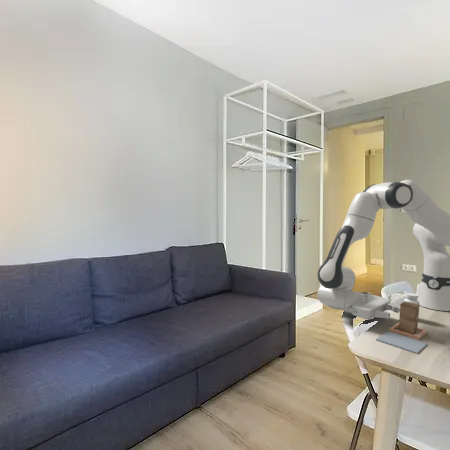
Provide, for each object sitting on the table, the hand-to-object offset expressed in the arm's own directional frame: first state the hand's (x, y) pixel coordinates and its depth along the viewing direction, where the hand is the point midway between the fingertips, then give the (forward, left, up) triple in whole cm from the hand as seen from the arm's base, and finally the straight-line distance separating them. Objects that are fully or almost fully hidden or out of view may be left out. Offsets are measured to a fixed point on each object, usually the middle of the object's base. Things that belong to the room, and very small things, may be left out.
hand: (394, 313), depth 112 cm
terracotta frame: (0, +5, -6) cm, 7 cm away
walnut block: (0, +5, -5) cm, 7 cm away
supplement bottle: (-16, +1, -6) cm, 17 cm away
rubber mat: (+11, +6, -6) cm, 14 cm away
